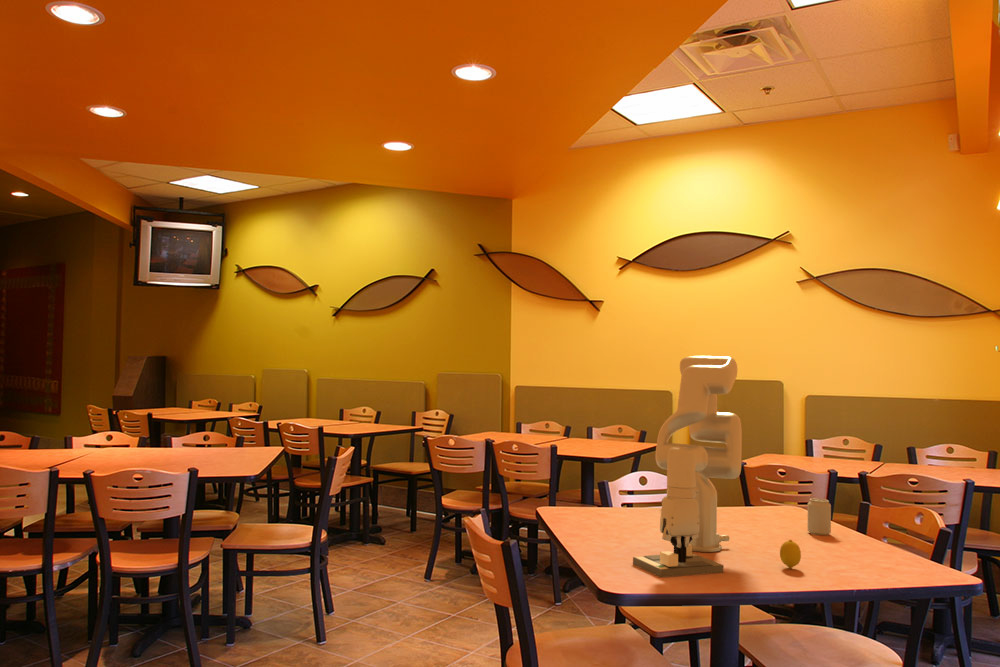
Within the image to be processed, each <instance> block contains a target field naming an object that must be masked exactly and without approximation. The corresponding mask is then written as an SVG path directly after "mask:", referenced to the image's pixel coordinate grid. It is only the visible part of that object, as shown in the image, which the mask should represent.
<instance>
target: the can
mask: <svg viewBox="0 0 1000 667" xmlns="http://www.w3.org/2000/svg"><path fill="white" fill-rule="evenodd" d="M831 520H832V505H831V503H830V501H829V500H828V499H825V498H809V501H808V502H807V531H808V532H809V534H810V533H811V535H813V534H814V536H819V535H827V536H829V534H831V532H832V529H831V528H832V525H831V524H832V521H831Z"/></svg>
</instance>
